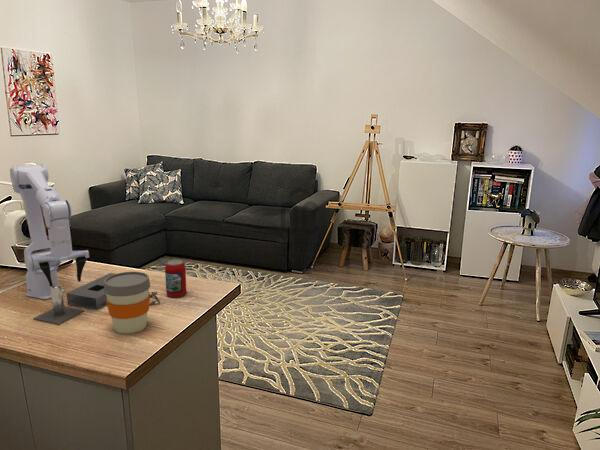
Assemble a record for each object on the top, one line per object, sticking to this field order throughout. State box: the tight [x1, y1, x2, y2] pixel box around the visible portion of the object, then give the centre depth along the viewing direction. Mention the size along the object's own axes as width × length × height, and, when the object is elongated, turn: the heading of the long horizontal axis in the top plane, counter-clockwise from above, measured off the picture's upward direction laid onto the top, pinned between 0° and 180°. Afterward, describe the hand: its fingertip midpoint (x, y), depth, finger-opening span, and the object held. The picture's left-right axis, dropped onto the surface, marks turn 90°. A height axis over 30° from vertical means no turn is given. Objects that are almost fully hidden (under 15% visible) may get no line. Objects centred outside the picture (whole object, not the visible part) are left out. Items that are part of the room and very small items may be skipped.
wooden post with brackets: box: [149, 291, 161, 306], centre depth 146 cm, size 2×8×4 cm, turn 114°
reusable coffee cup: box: [104, 271, 151, 335], centre depth 130 cm, size 13×12×15 cm
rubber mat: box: [32, 305, 86, 326], centre depth 138 cm, size 10×10×1 cm
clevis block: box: [65, 272, 115, 311], centre depth 152 cm, size 12×20×4 cm, turn 161°
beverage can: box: [164, 258, 187, 298], centre depth 154 cm, size 7×7×12 cm
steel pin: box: [50, 283, 65, 316], centre depth 136 cm, size 3×3×10 cm
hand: (65, 282), depth 136 cm, fingers open, 7 cm apart
